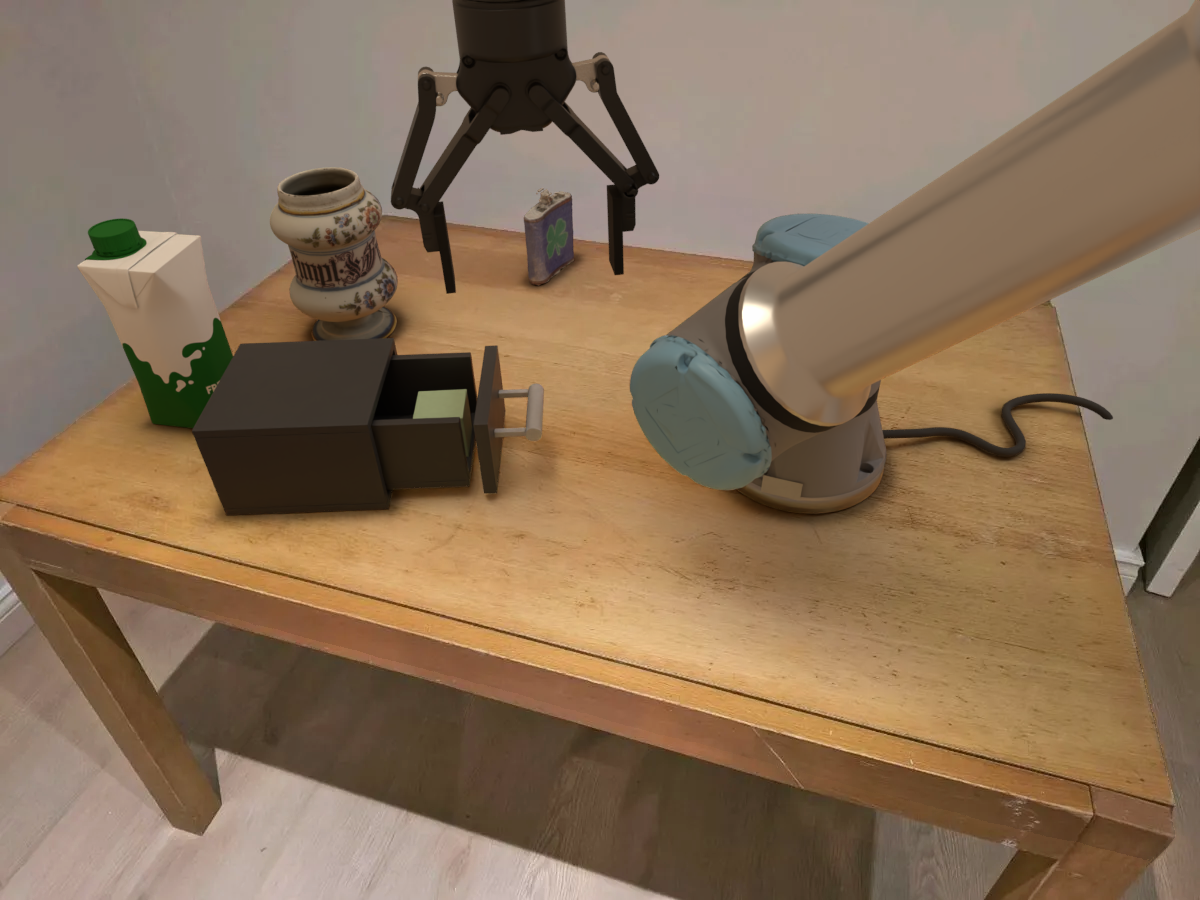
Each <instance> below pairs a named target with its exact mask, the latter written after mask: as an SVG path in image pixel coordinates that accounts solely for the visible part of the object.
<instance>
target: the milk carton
mask: <svg viewBox="0 0 1200 900" xmlns="http://www.w3.org/2000/svg"><path fill="white" fill-rule="evenodd" d="M87 235H88V238H89V240H90V242H91V245H92V247H93V251H92V252H91V254H90V255H88V256H86V258H84V261H82V262H80V263H79V264H77V265H76V266H77V269H78V271H79V272H80V273H81V275H82V276H83V277H84V279H85V281H86V283H88V285H89V286H90V288H91V289H92V290H93V292H94V293H95V295H96V297H97V298H98V300H99V301H100V303H101V304H102V305H103V307H104V309H105V310H106V313H107V315H108V317H109V320H110V323H111V324H112V326H113V328H114V329H113V330H114V331H115V333H116V335H117V338H118V340H119V342H120V345H121V347H122V349H123V351H124V353H125V356H126V358H127V361H128V362H129V365H130V367H131V370H132V372H133V374H134V376H135V379H136V381H137V383H138V386H139V389H140V392H141V395H142V398H143V402H144V404H145V406H146V411H147V412H148V415H149V418H150V421H151V424H153V425H162V426H171V427H179V428H187V429H193V428H194V426H195V424H196V422H197V421H198V419H199V417H200V415H201V413H202V412H203V410H204V408H205V406H206V404H207V403H208V401H209V399H210V397H211V395H212V394H213V392H214V390H215V388H216V387H217V385H218V383H219V381H220V379H221V378H222V376H223V374H224V372H225V370H226V369H227V367H228V365H229V363H230V361H231V360H232V358H233V356H234V354H233V352H232V349H231V345H230V343H229V339H228V338H227V337H228V336H227V334H226V330H225V329H224V326H223V323H222V320H221V316H220V314H219V311H218V307H217V305H216V302H215V300H214V296H213V294H212V291H211V288H210V285H209V281H208V276H207V271H206V264H205V263H206V262H205V257H204V256H205V255H204V249H203V244H202V237H201V235H196V234H195V235H194V234H181V233H180V234H178V233H177V232H174V231H151V230H150V231H149V230H139V229H138V227H137V225H136V222H135V221H134V220H133V219H130V218H111V219H107V220H104V221H99V222H98V223H95V224H93V225H92V226H91V227H89V229H88V230H87Z"/></svg>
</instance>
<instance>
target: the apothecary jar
mask: <svg viewBox="0 0 1200 900" xmlns="http://www.w3.org/2000/svg"><path fill="white" fill-rule="evenodd" d="M276 191H277V197H278V199H277V203H276V204H275V205H274V207H273V209H272V210H271V213H270V215H269V226H270V229H271V231H272V233H273V235H274V236H275V237H276V238H277V239H278V240H280V241H281V242H282V243H284V244H286V245H287V247H288V250H289V253H290V256H291V260H292V265H293V269H294V273H295V275H294V276H293V278H292V280H291V282H290V285H289V298H290V300H291V302H292V304H293V306H294V307H295V308H296V309H297V310H298V311H299V312H301V313H302V314H304V315H306V316H308V317H309V318H312V319H314V320H316V321H315V322H314V324H313V326H312V328H311V338H312V339H313V341H325V340H352V339H379V338H389V336H391V335H392V333H393V332H394V331H395V329H396V327H397V325H398V324H397V323H398V322H397V317H396V315H395V313H394V312H393V311H392V310H390V309H389V308H387V307H385V306H386V305H387V304H388V303H389V302H390V301H391V300H392V298H393V297H394V295H395V294H396V291H397V288H398V283H399V281H398V280H399V279H398V274H397V272H396V270H395V268H394V267H393V265H392V264H391V263H390V262H389V261H388V260H386V259H385V258H384V257H382V254H381V251H380V247H379V244H378V239H377V234H376V229H377V228H378V227H379V225H380V223H381V221H382V218H383V207H382V205H381V202H380V200H379V199H378V198H377V197H376V196H375V194H373V193H372V192H371V191H369V190H368V189H365V187H364V186H363V185H362V183H361V180H360V177H359V175H358V173H356V172H355V171H353V170H351V169H349V168H344V167H337V166H336V167H335V166H332V167H331V166H328V167H318V168H317V167H316V168H311V169H307V170H303V171H299V172H297V173H294V174H292V175H290V176H287V177H286V178H284V179H282V180H281V181H280V182H279V183H278V185H277V188H276Z"/></svg>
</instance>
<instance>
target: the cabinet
mask: <svg viewBox="0 0 1200 900" xmlns="http://www.w3.org/2000/svg"><path fill="white" fill-rule="evenodd" d="M392 355H398V351H397V346H396V341H395V338H394V337H387V338H379V339H352V340H325V341H314V340H307V341H306V340H303V341H301V340H299V341H275V342H274V341H273V342H251V343H250V342H248V343H247V342H246V343H240V344H239V346H238V348H237V349H236V351H235V352H234V354H233V358H232V360H231V361H230V363H229V365H228V367H227V369H226V370H225V372H224V374H223V376H222V378H221V379H220V381H219V383H218V385H217V387H216V388H215V390H214V392H213V394H212V395H211V397H210V399H209V401H208V403H207V404H206V406H205V408H204V410H203V412H202V413H201V415H200V417H199V419H198V421H197V422H196V424H195V426H194V428H192V430H191V433H192V435H193V438H194V441H195V444H196V445H197V449H198V450H199V453H200V455H201V458H202V461H203V462H204V465H205V468H206V470H207V473H208V475H209V477H210V479H211V482H212V485H213V487H214V489H215V492H216V494H217V497H218V499H219V502H220V504H221V506H222V508H223V511H224V514H225V516H244V515H245V516H247V515H248V516H249V515H250V516H251V515H275V514H276V515H277V514H299V513H325V512H328V513H329V512H352V511H353V512H356V511H381V510H383V511H384V510H389V509H390V506H391V505H390V504H391V501H392V497H393V492H394V489H390V490H386V486H385V482H384V478H383V473H382V469H381V465H380V461H379V457H378V453H377V449H376V445H375V441H374V437H373V433H372V429H371V424H372V420H373V417H374V414H375V410H376V407H377V404H378V400H379V397H380V394H381V390H382V387H383V384H384V380H385V377H386V374H387V370H388V367H389V364H390V360H391V357H392Z"/></svg>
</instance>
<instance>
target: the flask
mask: <svg viewBox="0 0 1200 900" xmlns="http://www.w3.org/2000/svg"><path fill="white" fill-rule="evenodd" d="M535 194H536V195H538V194H540V197H539V199H538V202H537V203H535V205H534V206H533V207H531V208H530V209H529V210H528V211H527V212H525V214H524V215H523V225H524V235H525V248H526V260H527V261H526V263H527V272H528V274H527V277H528V281H529V284H530V285H533V286H534V285H536V286H538V287H539V286H541V285H543V284H546V283H548V282H549V281H550V279H551V278H553V277H554V276H556V275H558V274H559V273H560V272H561V269H565V267H566V266H568V265H570V264H571V263H573V262H574V261H575V252H574V247H575V246H574V223H573V222H574V221H573V220H574V219H573V196H572V194H571V193H570V192H567V191H561V190H560V191H555V192H553V193H552V192H550V191H549V190H548V188H546V189H545V188H544V187H541V188H539V189H537V191H536V193H535Z"/></svg>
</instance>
